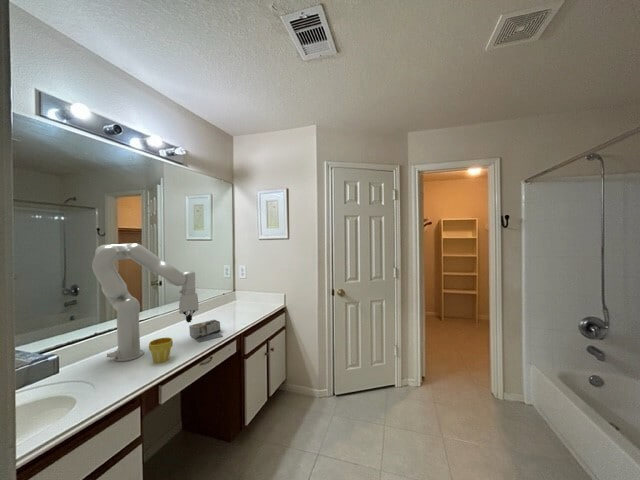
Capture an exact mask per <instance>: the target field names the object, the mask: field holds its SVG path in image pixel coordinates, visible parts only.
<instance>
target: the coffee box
mask: <svg viewBox="0 0 640 480" xmlns="http://www.w3.org/2000/svg"><path fill="white" fill-rule="evenodd" d="M188 328H189V336H190V337H192V338H194V339H195V338H198V337H202V336H205V335H209V334H213V333H216V332H219V333H220V332H221V329H222V328H221V321H219V320H216V319H211V320H210V319H209V320H206V321H202V322H199V323H195V324H192V325H189V327H188Z"/></svg>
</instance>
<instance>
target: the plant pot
mask: <svg viewBox="0 0 640 480" xmlns="http://www.w3.org/2000/svg"><path fill="white" fill-rule="evenodd" d="M173 340H174V339H173V338H172V337H159V338H155V339H153V340H151V341H150V342H149V344H148V350H149V352H150V353H151V357H152V361H153V363H154V364H162V363H165V362H167V361H169V359H170V355H171V350H172V347H173V343H174V341H173Z"/></svg>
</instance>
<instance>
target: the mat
mask: <svg viewBox="0 0 640 480" xmlns="http://www.w3.org/2000/svg"><path fill="white" fill-rule="evenodd" d="M223 337H224V335H222V334H221V333H220V332H216V333H213V334H209V335H205V336H202V337H198V338H194V339H195V341H197V343H204V342H207V341H212V340H215V339H219V338H223Z"/></svg>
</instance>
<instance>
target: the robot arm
mask: <svg viewBox="0 0 640 480" xmlns="http://www.w3.org/2000/svg"><path fill="white" fill-rule="evenodd" d="M94 253H95V254H94V258H92V259H93V260H92V264H91V267H92V272H93V274H94V276H95V278H96V279H97V281H98V283H99V284H100V285H101V291H102V293H103V295H104V296H105V298H106V300H107V301H108V302H109V303H110V305H111V306H112V307H113V308H112V309H114V310H115V311H116V330H117V331H116V332H117V333H116V334H117V335H116V337H117V338H116V339H117V349H116V350H114V351H113V352H109V353H106V358H110V359H111V358H114V361H116V362H118V363H119V362H121V363H122V362H128V361H132V360H136V359H138V358H140V357H142V356H143V355H144V354H145V353H144V350H143V349H141V340H140V339H141V338H140V334H141V333H140V310H141V307H140V306H141V305H140V301H139V300H138V299H137V298H136V297H135V296H132V295H131V293H130V292H129V290H128V286H127V283H126V282H125V281H124V279H123V278H122V276H121V275H120V273H119V272H118V269H117V268H116V266H115V261H117V260H119V261H120V260H129V259H130V260H132V261H133V262H135V263H137V264H139V265H140V266H141V267H143V268H144V269H146V270H147V271H148V272H151V273H153V274H156V275H158V276H160V277H161V278H163V279H165V281H166V282H167V283H168V284H169V285H171V286H176V287H181V290H179V291H178V293H179V294H180V295H179V304H178V306H179V307H178V314H180V315H184V316H185V321H186V323H191V322H192V321H193V315H194V313H196V312H198V311H199V307H200V306H199V297H198V293H197V292H196V272H195V271H193V270H191V271H190V270H189V271H187V270H186V271H182V272H181V271H180V270H178V269H177V268H176V267H174V266H173V265H171V264H169V263H168V262H166V261H165V260H163V259H162V258H160V257H159V256H158V255H156V254H154V253H153V252H151V251H150V250H149V249H147V248H146V247H145V246H143V245H141V244H139V243H137V242H135V243H134V242H133V243H132V242H131V243H120V244H119V243H118V244H117V243H115V244H114V243H113V244H101V245H99V246H98V247H97V248H96V249H95V251H94Z"/></svg>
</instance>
